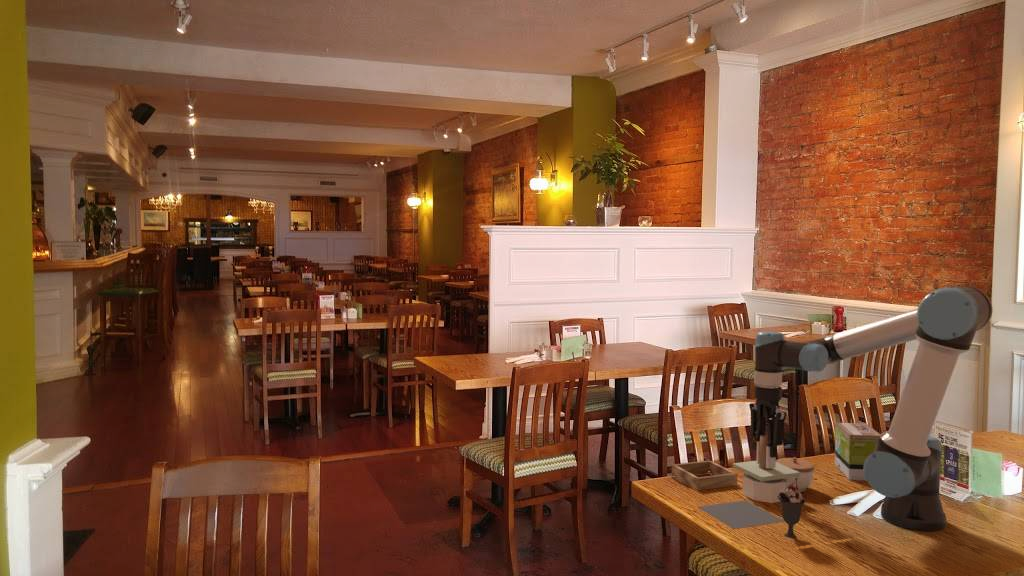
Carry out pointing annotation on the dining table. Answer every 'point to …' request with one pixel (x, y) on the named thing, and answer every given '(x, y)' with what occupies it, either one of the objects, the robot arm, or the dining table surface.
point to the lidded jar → (802, 467)
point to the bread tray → (689, 470)
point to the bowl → (763, 488)
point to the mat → (740, 514)
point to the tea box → (854, 448)
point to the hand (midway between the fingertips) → (765, 465)
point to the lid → (760, 469)
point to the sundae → (791, 507)
